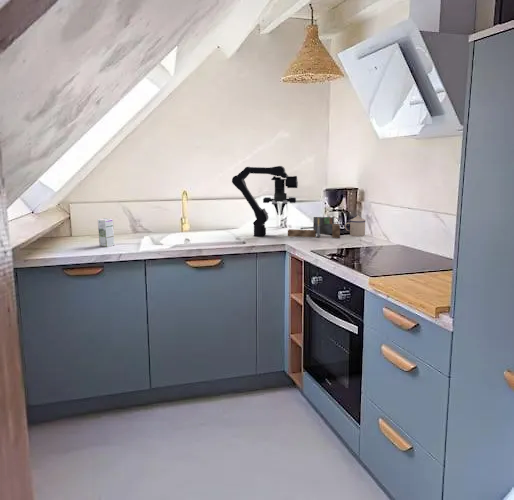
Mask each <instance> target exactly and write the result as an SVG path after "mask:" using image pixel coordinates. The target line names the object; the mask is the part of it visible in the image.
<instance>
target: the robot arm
mask: <svg viewBox="0 0 514 500" xmlns="http://www.w3.org/2000/svg"><path fill="white" fill-rule="evenodd" d="M250 174H255V175H256V174H259V175H271V176H273V177H272V178H271V181H274V194H273V196H274V197H273V198H272V197H270V196H269V197H266V196H265V197H263V199H262V202H263V203H264V204H266V203H267V204H269V203H271V205H273V206H274V208H275V211H276V214H277V216H279V205H278V203H279V202H280V203H281V209H280V216H282V215H283V211H284V208H285V206H286V205H287V204H288V203H290V204H296V203H297V198H296V197H294V196H293V197H292V196H291V197H288V198H287V196H288V195H287V193H286V191H285V190H286V189H285V188H286V187H287V189H298V186H299V182H298V176H297V175H293V176H289V175H288V174H287V172H286V169H285V166H282V165H277V166H271V167H264V166H263V167H260V166H257V167H255V166H246V167H244V169H242V170H241V171H240V172H239V173H238V174H237V175H234V176H233V177H232V180H231V183H232V185H233V186H235V187H236V189H238V190H239V191H240V193H242V195H243V197H244V198H245V200H246V201H247V203H248V205H249V206H250V208H251V209H252V211H253V212H254V217H255V218H256V219H255V221H253V222H252V224H253V237H265V236H266V234H267V228H266V222H267V221H268V220H269V212H267V211H266V208H261V207H260V205H259V204H258V202H257V201H256V199H255V197H254V196H253V194H252V192H250V190H249V188H248V187H247V183H246V181H245V180H246V178H247V177H248V176H249V175H250Z"/></svg>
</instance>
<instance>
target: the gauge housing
mask: <svg viewBox="0 0 514 500" xmlns="http://www.w3.org/2000/svg"><path fill="white" fill-rule="evenodd" d="M318 218H319V225H320V235H324V234H325V235H331V236H332V239H340V238H341V225H340V223H334V222H335V219H334V218H335V217H334V216H314V217H313V227H312V228H313V229H312V230H316V235H317V226H318Z"/></svg>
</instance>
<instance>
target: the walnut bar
mask: <svg viewBox="0 0 514 500" xmlns="http://www.w3.org/2000/svg"><path fill="white" fill-rule="evenodd" d="M287 237H290V238H295V237H296V238H316V237H317V234H316V230H313V229H288V230H287Z"/></svg>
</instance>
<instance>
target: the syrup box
mask: <svg viewBox="0 0 514 500" xmlns="http://www.w3.org/2000/svg"><path fill="white" fill-rule="evenodd" d="M97 226H98V228H97V229H98V241H99V242H98V243H99V247H103V246H104V248H105V247H106V248H109V246H110V247H112V246H113V245H114V246H115V233H114V232H115V231H114V219H113V218H105V217H102V218H98V219H97ZM114 246H113V247H114Z"/></svg>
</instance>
